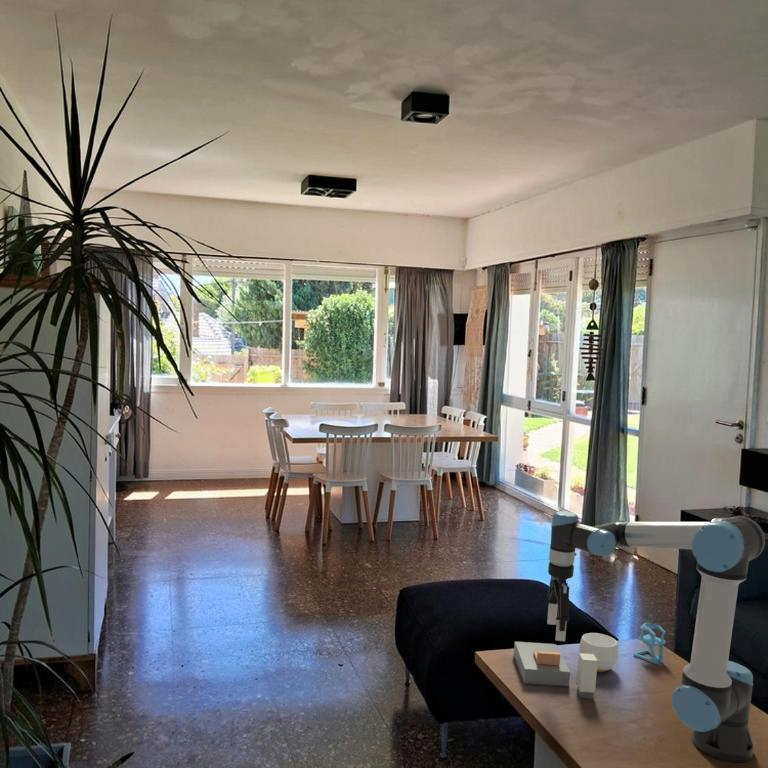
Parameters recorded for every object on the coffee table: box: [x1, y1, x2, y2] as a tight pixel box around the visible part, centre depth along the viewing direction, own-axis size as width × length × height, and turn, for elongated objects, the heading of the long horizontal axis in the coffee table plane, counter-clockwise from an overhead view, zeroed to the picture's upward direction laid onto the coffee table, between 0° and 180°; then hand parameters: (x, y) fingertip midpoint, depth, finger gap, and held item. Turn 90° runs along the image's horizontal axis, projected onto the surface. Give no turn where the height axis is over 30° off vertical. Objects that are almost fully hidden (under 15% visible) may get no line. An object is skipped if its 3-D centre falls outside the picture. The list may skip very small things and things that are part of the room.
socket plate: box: [513, 641, 571, 688], centre depth 236 cm, size 20×14×5 cm
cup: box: [579, 632, 619, 673], centre depth 240 cm, size 12×12×10 cm
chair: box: [633, 622, 667, 665], centre depth 250 cm, size 8×8×12 cm
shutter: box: [533, 651, 561, 665], centre depth 232 cm, size 7×7×4 cm
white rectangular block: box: [575, 652, 598, 699], centre depth 221 cm, size 4×4×12 cm
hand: (555, 632), depth 223 cm, fingers open, 11 cm apart
